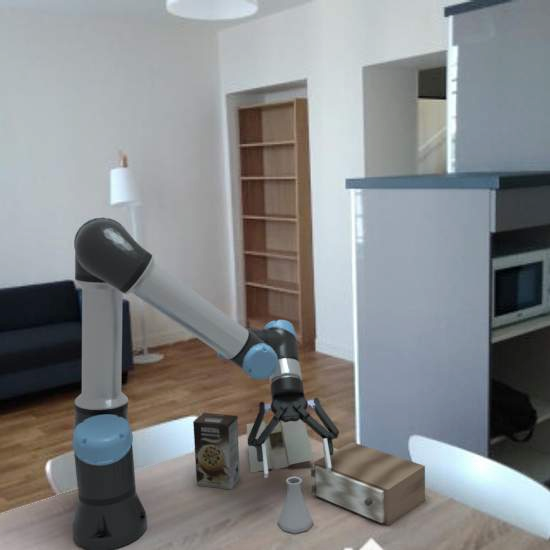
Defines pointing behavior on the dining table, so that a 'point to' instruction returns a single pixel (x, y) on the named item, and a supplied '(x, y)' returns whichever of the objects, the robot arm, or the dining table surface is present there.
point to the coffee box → (216, 450)
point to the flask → (294, 509)
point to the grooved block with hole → (282, 445)
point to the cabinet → (370, 482)
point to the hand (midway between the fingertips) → (297, 472)
